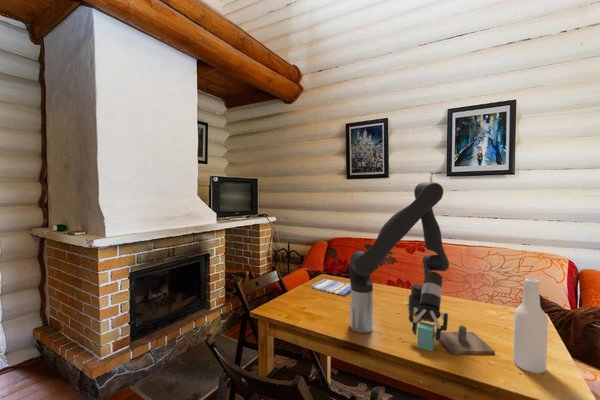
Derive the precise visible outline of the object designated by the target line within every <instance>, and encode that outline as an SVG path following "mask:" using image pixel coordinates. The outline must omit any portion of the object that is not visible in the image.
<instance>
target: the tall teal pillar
mask: <svg viewBox="0 0 600 400" xmlns="http://www.w3.org/2000/svg"><path fill="white" fill-rule="evenodd" d="M435 327H436V325H435V324H432V323H427V322H425V321H424V322H423V321H421V322H419V323H418V325H417V348H418V349H421V350H425V351H429V352H433V351H434V347H435V338H436V337H435V332H436V329H435Z"/></svg>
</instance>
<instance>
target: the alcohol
mask: <svg viewBox="0 0 600 400" xmlns="http://www.w3.org/2000/svg"><path fill="white" fill-rule="evenodd" d="M523 284H524V288H523V295H522V302H521V304H520V305H519V306H517V308H516V309H515V311H514V317H513V318H514V319H513V320H514V321H513V322H514V324H513V325H514V326H513V352H512V353H513V355H512V356H513V357H512V359H513V362H514V364H515V365H516V366H517V367H518V368H520V369H521V370H523V371H526V372H527V373H531V374H538V375H539V374H540V375H541V374H543V373H544V372H546V371H547V359H548V357H547V354H548V331H549V330H548V327H549V325H548V324H549V320H548V316H547V314H546V313H545V311H544V310H543V309H542V306H541V301H540V280H538V279H536V278H531V277H530V278H529V277H526V278H524V283H523Z"/></svg>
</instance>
